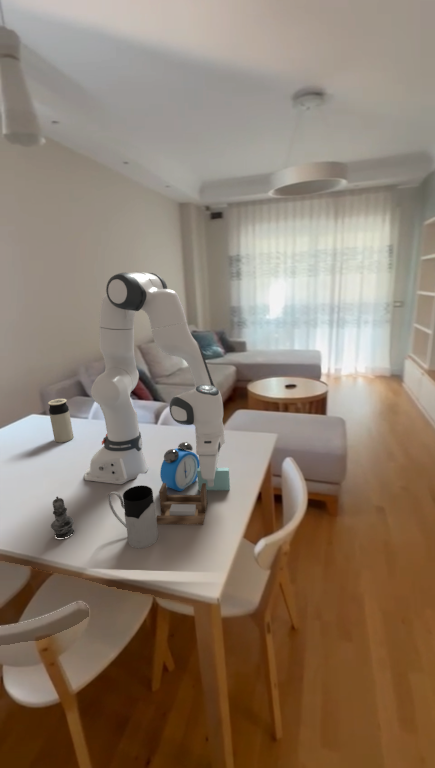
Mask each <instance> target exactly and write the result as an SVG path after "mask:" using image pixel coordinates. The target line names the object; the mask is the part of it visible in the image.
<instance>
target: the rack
mask: <svg viewBox="0 0 435 768" xmlns="http://www.w3.org/2000/svg"><path fill="white" fill-rule="evenodd" d="M199 491H200V492H199V493H200V494H168V487H167V486H166V483H163V482H162V485H160V488H159V491H158V494H159V502H160V505H159V506H160V512H161V513H160V514H159V515H157V514H156V520H157V525H204V521H205V517H206V511H207V507H208V496H207V495H208V493H207V490H206V483H202V487H201V490H199ZM172 504H196V509H198V516H166V515H165V513H166V511H167V509H170V508H171V505H172Z"/></svg>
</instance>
